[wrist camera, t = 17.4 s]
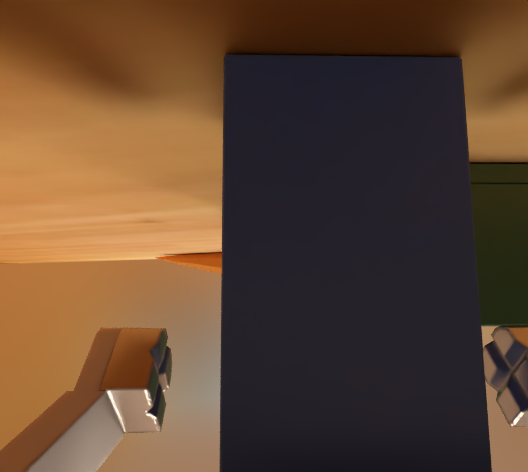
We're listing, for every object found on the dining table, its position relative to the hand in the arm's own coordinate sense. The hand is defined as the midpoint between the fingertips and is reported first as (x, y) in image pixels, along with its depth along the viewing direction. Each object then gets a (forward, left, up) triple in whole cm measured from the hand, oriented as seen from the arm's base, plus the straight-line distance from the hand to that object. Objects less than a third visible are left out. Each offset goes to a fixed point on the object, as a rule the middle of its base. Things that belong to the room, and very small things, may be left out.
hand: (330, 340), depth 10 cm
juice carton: (0, +1, -6) cm, 6 cm away
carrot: (-3, -48, -6) cm, 49 cm away
